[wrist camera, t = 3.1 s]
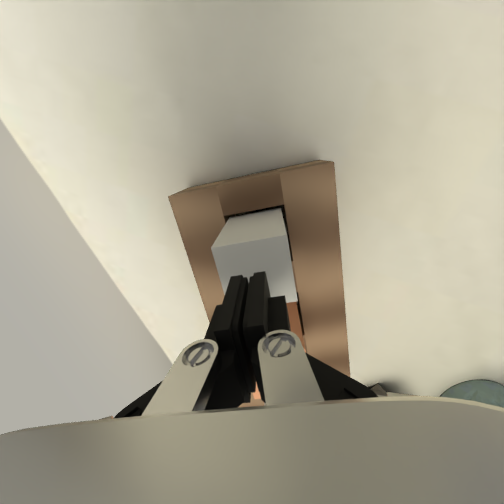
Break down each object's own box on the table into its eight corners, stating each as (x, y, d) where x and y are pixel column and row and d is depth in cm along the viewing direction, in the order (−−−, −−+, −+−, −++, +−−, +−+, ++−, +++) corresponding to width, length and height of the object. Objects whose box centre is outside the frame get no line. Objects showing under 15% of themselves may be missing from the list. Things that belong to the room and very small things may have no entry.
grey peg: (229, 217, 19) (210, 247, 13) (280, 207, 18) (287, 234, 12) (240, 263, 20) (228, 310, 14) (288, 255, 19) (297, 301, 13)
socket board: (188, 187, 22) (168, 196, 18) (319, 160, 21) (333, 161, 16) (243, 374, 31) (239, 413, 26) (339, 365, 29) (352, 404, 25)
